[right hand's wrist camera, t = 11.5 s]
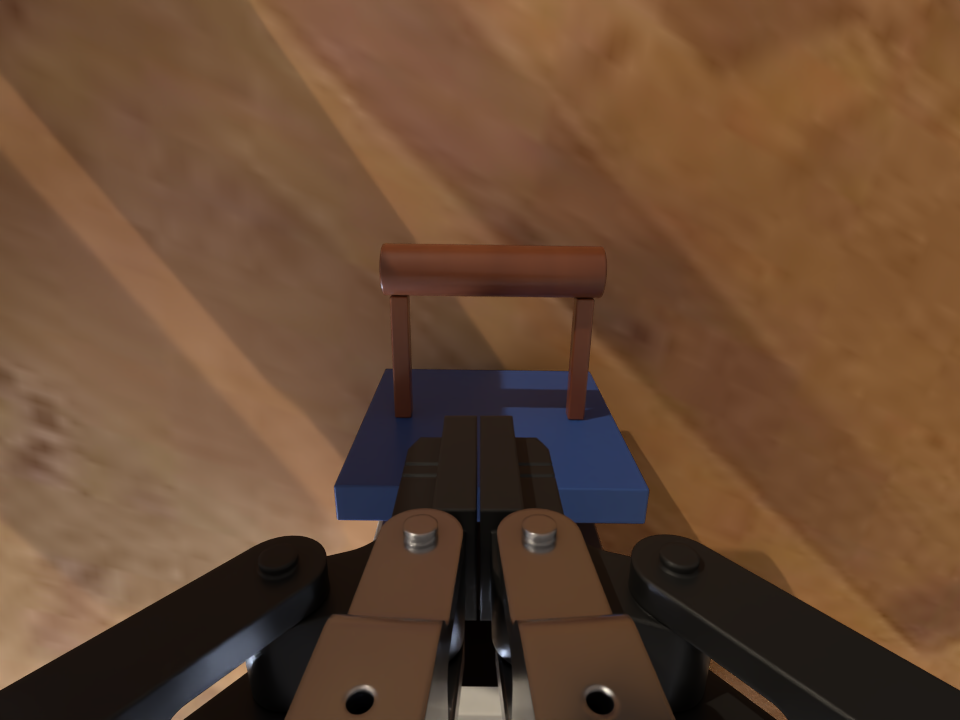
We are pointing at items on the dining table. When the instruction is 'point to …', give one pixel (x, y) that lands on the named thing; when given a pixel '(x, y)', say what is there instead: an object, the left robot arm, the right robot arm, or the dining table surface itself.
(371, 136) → the dining table surface
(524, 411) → the drawer
